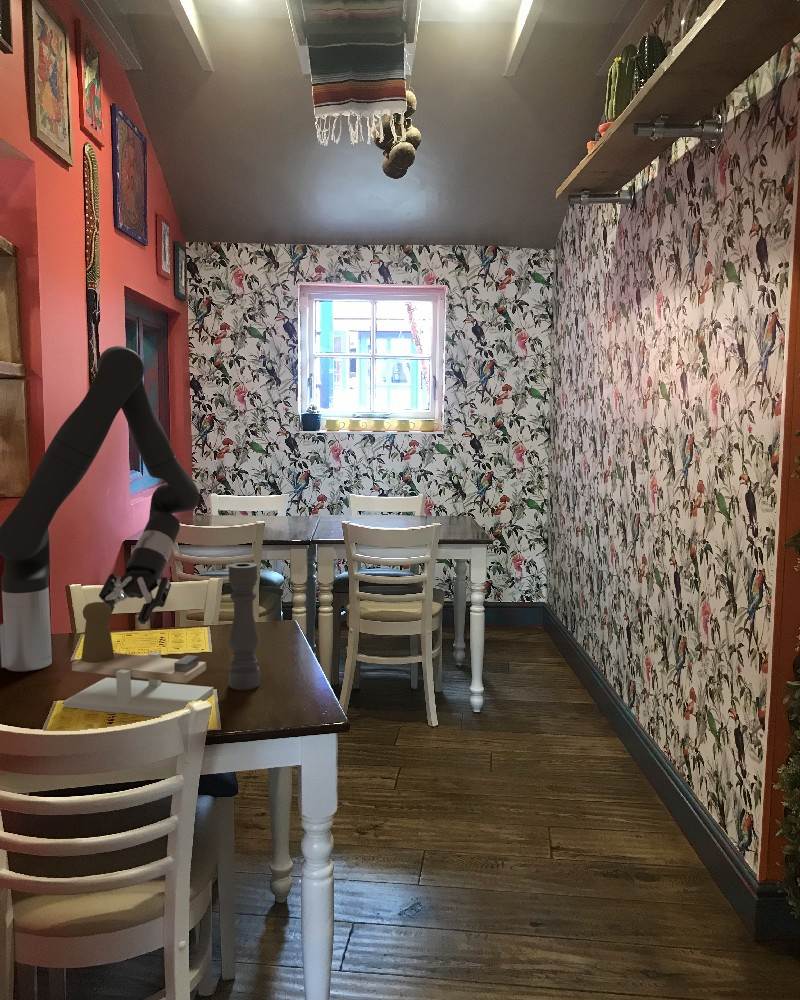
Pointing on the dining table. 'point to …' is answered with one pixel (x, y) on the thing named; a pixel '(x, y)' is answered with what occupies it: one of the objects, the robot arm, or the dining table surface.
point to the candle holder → (243, 628)
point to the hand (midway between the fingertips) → (122, 620)
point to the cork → (97, 633)
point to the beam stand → (137, 695)
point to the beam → (146, 667)
